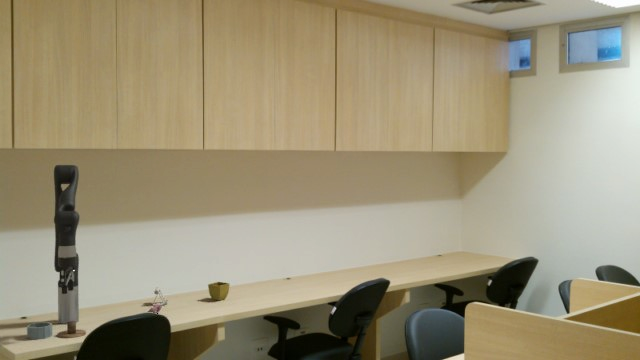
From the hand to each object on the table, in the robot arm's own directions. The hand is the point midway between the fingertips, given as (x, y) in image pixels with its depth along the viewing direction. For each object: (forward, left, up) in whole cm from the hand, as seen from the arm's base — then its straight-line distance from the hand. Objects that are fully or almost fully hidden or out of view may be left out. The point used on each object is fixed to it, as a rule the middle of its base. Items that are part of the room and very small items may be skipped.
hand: (67, 292), depth 293 cm
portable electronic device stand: (-61, +27, -19) cm, 70 cm away
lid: (+1, +2, -19) cm, 19 cm away
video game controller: (-35, +30, -19) cm, 49 cm away
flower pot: (-73, +57, -19) cm, 94 cm away
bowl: (+3, -11, -19) cm, 22 cm away
